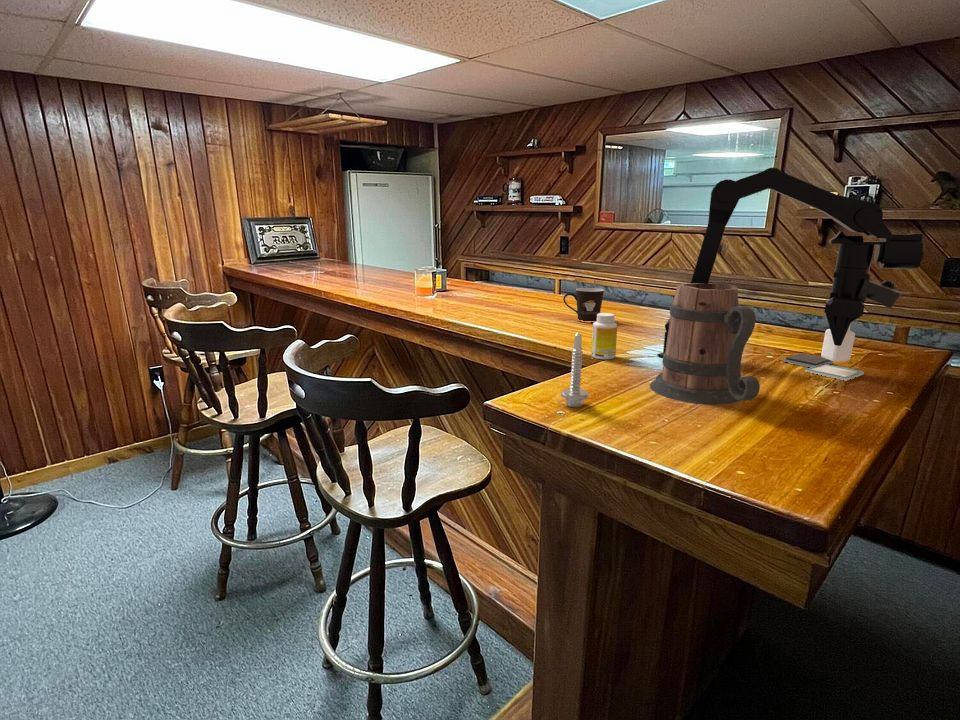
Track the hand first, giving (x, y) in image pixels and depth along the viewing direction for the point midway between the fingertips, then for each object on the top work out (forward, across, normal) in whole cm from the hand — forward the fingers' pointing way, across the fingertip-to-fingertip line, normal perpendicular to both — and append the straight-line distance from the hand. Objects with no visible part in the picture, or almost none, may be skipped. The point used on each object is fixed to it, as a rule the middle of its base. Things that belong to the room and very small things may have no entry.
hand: (838, 342), depth 111 cm
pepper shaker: (+4, 0, 0) cm, 4 cm away
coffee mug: (+7, +24, +68) cm, 72 cm away
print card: (+7, 0, 0) cm, 7 cm away
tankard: (+7, -30, +18) cm, 36 cm away
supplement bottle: (+7, -16, +45) cm, 48 cm away
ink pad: (+7, +6, +5) cm, 10 cm away
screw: (+7, -50, +36) cm, 62 cm away
